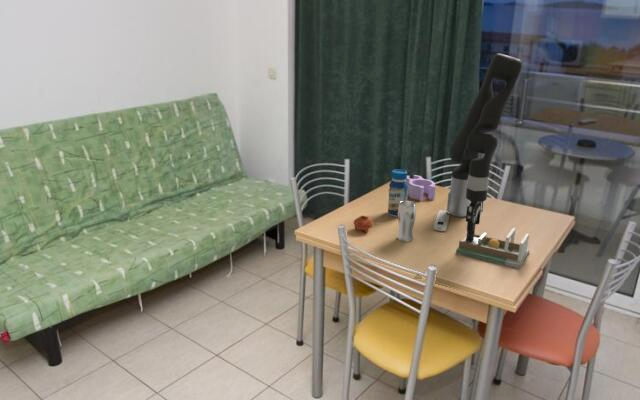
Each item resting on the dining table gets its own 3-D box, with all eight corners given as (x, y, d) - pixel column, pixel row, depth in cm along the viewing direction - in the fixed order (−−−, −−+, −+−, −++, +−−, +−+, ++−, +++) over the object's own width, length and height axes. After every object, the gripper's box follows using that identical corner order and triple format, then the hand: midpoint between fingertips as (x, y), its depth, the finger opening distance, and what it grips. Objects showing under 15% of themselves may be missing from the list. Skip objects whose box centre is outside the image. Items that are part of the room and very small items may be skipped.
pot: (358, 224, 221) (362, 210, 218) (373, 232, 217) (377, 218, 214) (348, 229, 214) (352, 215, 211) (363, 238, 211) (368, 224, 208)
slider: (461, 244, 198) (464, 219, 195) (467, 238, 204) (470, 213, 200) (480, 249, 195) (483, 223, 191) (485, 242, 200) (488, 217, 197)
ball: (486, 249, 195) (487, 240, 194) (489, 245, 198) (490, 236, 197) (497, 252, 193) (498, 242, 192) (499, 248, 196) (501, 238, 195)
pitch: (456, 253, 195) (458, 229, 192) (469, 238, 208) (471, 216, 205) (519, 268, 184) (523, 244, 181) (529, 252, 197) (532, 229, 193)
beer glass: (403, 243, 203) (405, 207, 198) (392, 236, 209) (395, 202, 204) (417, 240, 206) (420, 204, 201) (407, 233, 212) (409, 199, 207)
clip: (398, 189, 267) (399, 176, 264) (421, 187, 270) (422, 174, 267) (415, 202, 248) (416, 188, 246) (439, 199, 252) (440, 186, 249)
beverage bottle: (410, 214, 232) (413, 172, 225) (396, 218, 228) (398, 175, 221) (397, 209, 239) (400, 167, 232) (383, 212, 234) (385, 170, 227)
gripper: (472, 180, 200) (468, 219, 205) (461, 190, 188) (457, 231, 194) (492, 183, 196) (487, 223, 201) (482, 193, 185) (477, 235, 190)
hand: (473, 227), depth 197 cm, fingers open, 8 cm apart
